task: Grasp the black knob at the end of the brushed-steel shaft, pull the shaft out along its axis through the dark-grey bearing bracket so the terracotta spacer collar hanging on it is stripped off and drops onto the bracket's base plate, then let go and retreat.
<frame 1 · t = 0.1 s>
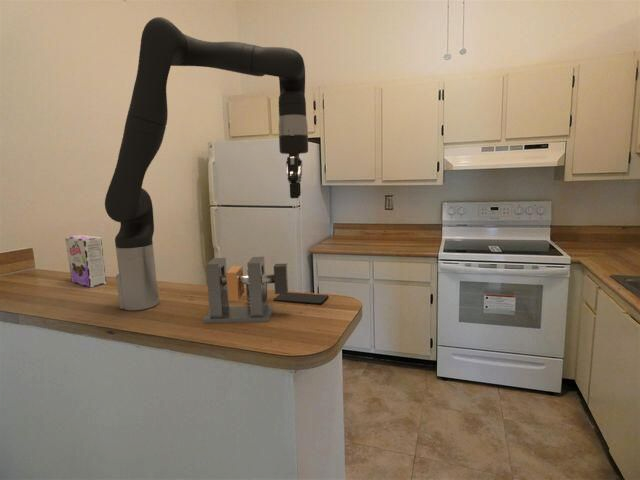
hand: (295, 197, 103), 29 cm above the countertop, fingers open, 8 cm apart
smartphone: (301, 300, 110), on the countertop
spacer: (235, 282, 96), point 9 cm above the countertop, touching shaft
bearing bracket: (239, 315, 98), on the countertop
pill bottle: (257, 303, 108), on the countertop
shaft: (251, 279, 96), point 10 cm above the countertop, slide at 0.0 cm, touching spacer
candy box: (89, 283, 133), on the countertop
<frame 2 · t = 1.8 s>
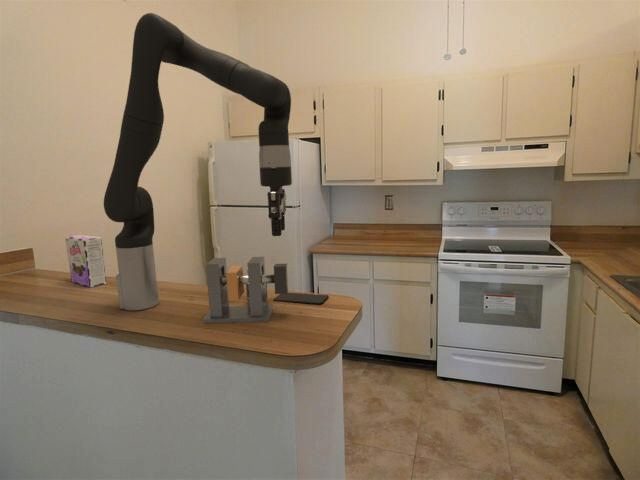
hand: (278, 232, 94), 21 cm above the countertop, fingers open, 8 cm apart
nothing on the countertop moved.
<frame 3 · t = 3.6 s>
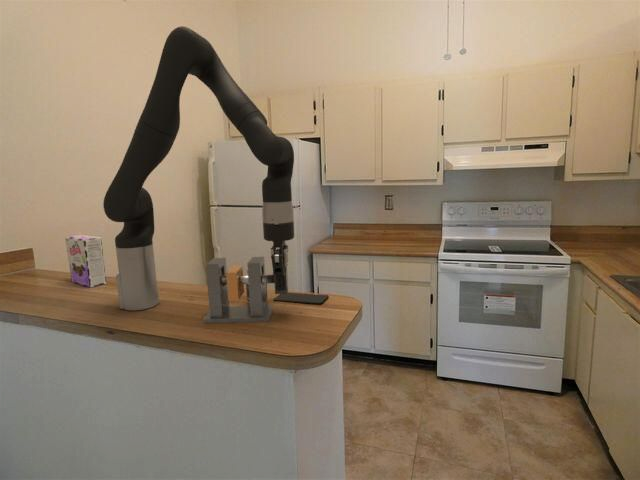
hand: (281, 287, 97), 7 cm above the countertop, fingers closed on shaft, 3 cm apart
shaft: (251, 279, 96), point 10 cm above the countertop, slide at 0.0 cm, touching gripper, spacer
everything else where it was.
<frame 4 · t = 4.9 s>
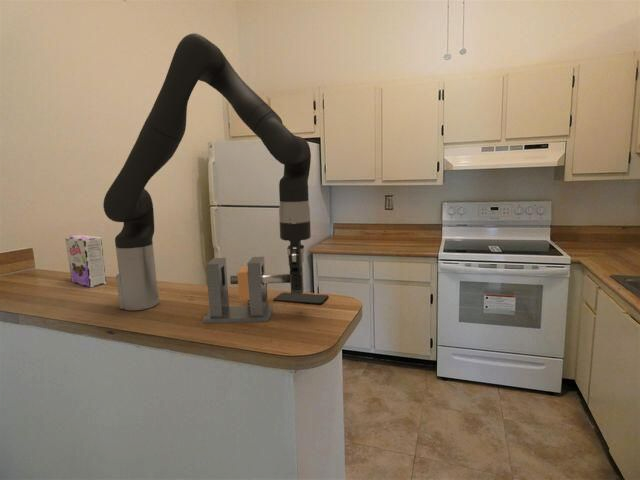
hand: (297, 287, 97), 7 cm above the countertop, fingers closed on shaft, 3 cm apart
spacer: (246, 282, 96), point 9 cm above the countertop, touching bearing bracket, shaft
shaft: (267, 279, 96), point 10 cm above the countertop, slide at 4.0 cm, touching gripper, spacer
everything else where it was.
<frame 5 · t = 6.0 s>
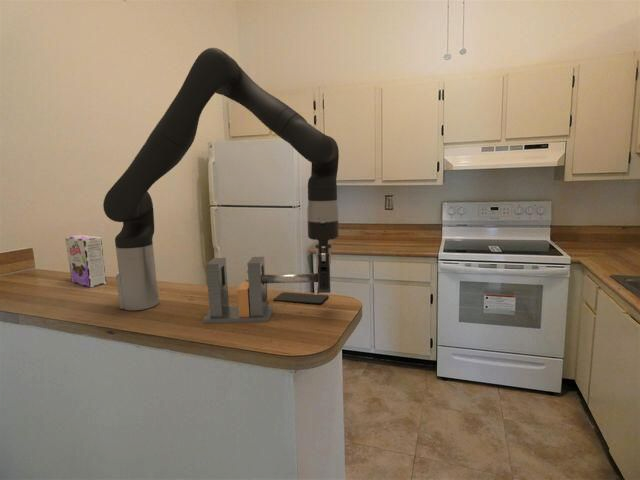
hand: (324, 286, 96), 7 cm above the countertop, fingers closed on shaft, 3 cm apart
spacer: (246, 298, 97), point 4 cm above the countertop, touching bearing bracket
shaft: (294, 278, 96), point 10 cm above the countertop, slide at 10.8 cm, touching gripper
everything else where it was.
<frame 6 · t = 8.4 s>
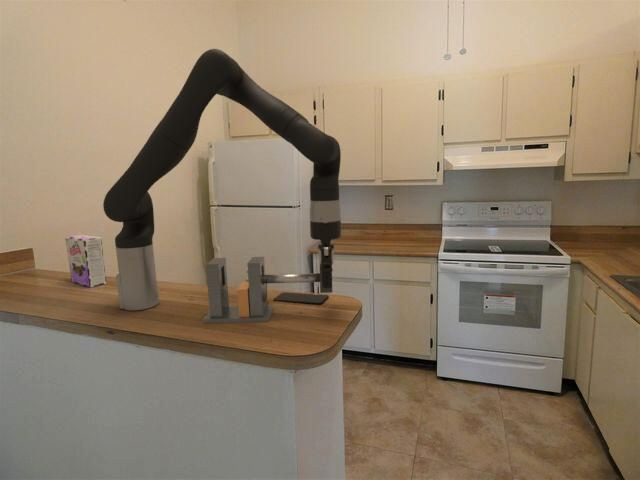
hand: (327, 282, 96), 8 cm above the countertop, fingers open, 8 cm apart
shaft: (296, 278, 96), point 10 cm above the countertop, slide at 11.3 cm
everything else where it was.
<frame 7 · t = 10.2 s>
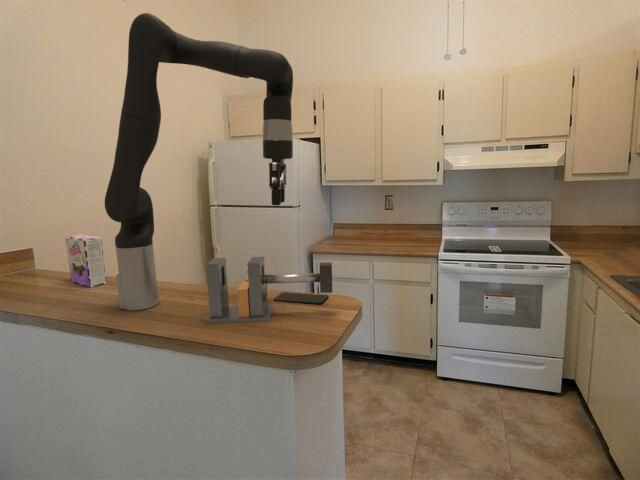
hand: (278, 203, 100), 28 cm above the countertop, fingers open, 8 cm apart
nothing on the countertop moved.
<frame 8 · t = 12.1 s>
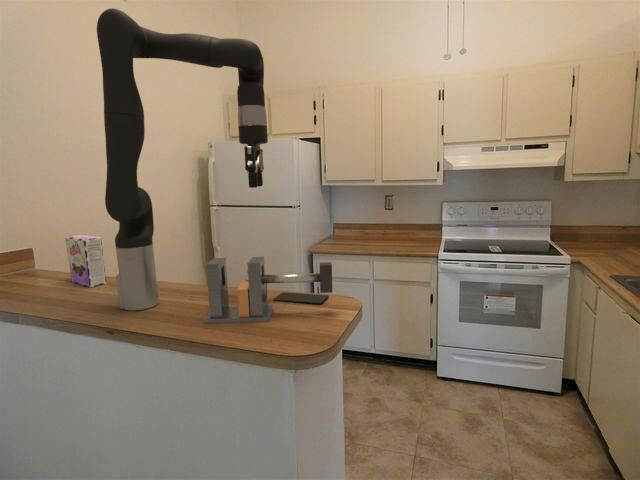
hand: (256, 186, 104), 32 cm above the countertop, fingers open, 8 cm apart
nothing on the countertop moved.
at the end: spacer inside the target area (0.9 cm from its centre), point 4.5 cm above the countertop; shaft slide at 11.3 cm; the gripper is holding nothing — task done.
